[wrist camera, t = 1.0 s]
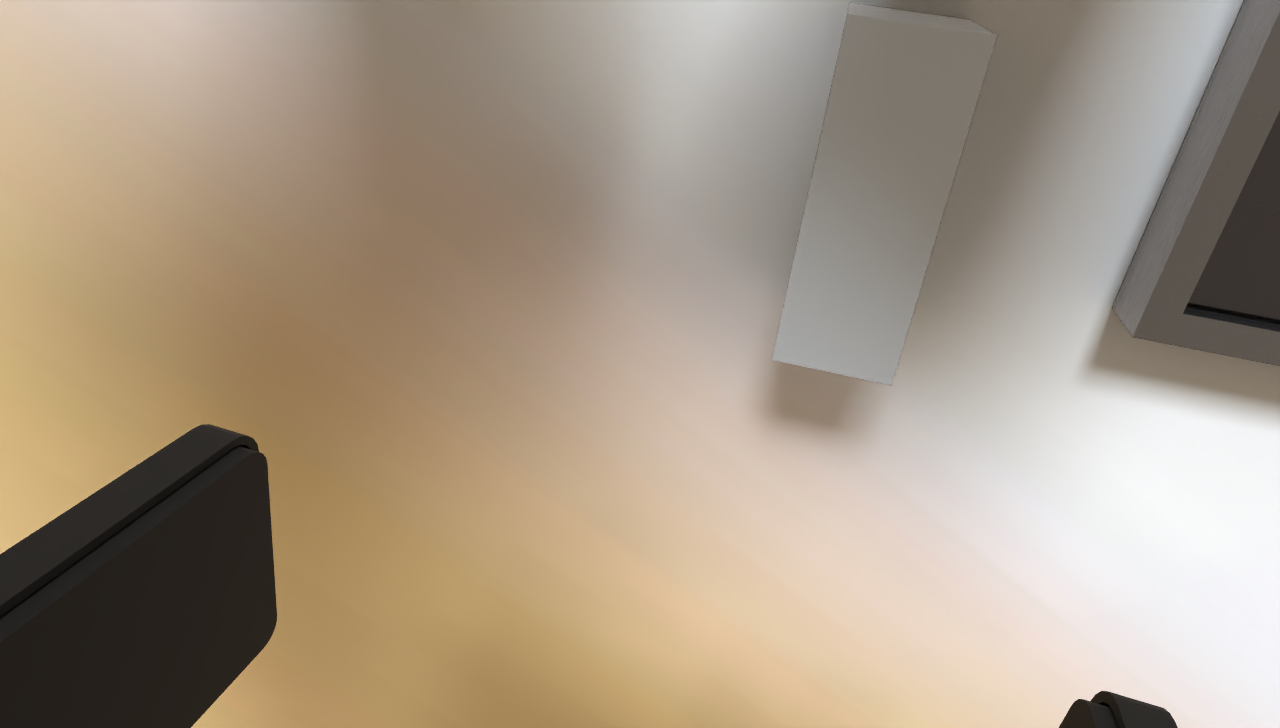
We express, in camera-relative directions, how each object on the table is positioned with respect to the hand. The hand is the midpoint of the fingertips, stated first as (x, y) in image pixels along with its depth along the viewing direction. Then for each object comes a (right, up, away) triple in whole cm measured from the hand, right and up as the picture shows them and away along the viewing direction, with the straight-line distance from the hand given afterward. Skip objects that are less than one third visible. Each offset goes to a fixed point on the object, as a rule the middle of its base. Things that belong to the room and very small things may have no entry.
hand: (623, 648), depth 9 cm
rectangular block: (+8, +10, +17) cm, 21 cm away
